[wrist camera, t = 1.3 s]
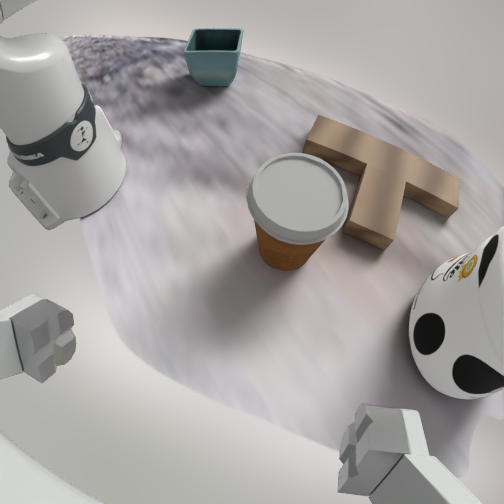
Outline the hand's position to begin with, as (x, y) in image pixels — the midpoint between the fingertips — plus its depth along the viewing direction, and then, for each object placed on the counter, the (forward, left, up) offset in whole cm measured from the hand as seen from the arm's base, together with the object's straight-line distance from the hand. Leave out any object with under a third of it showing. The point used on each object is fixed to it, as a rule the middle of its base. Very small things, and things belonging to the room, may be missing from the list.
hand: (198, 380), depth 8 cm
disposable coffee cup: (-1, +17, -27) cm, 32 cm away
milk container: (+24, +15, -27) cm, 39 cm away
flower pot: (-24, +43, -27) cm, 57 cm away
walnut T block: (+8, +30, -27) cm, 41 cm away
